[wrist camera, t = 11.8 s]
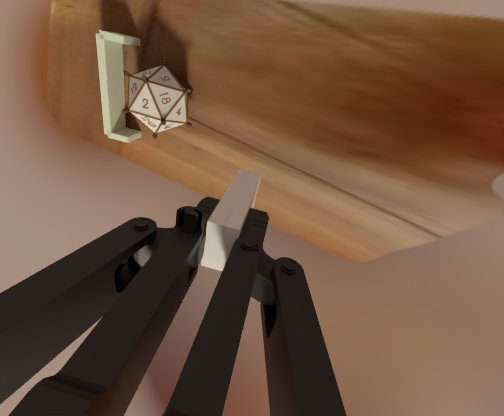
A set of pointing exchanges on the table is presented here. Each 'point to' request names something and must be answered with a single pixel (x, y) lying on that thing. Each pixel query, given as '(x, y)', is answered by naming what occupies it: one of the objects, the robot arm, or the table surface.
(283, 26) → the table surface
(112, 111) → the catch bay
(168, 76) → the game die
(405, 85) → the table surface
